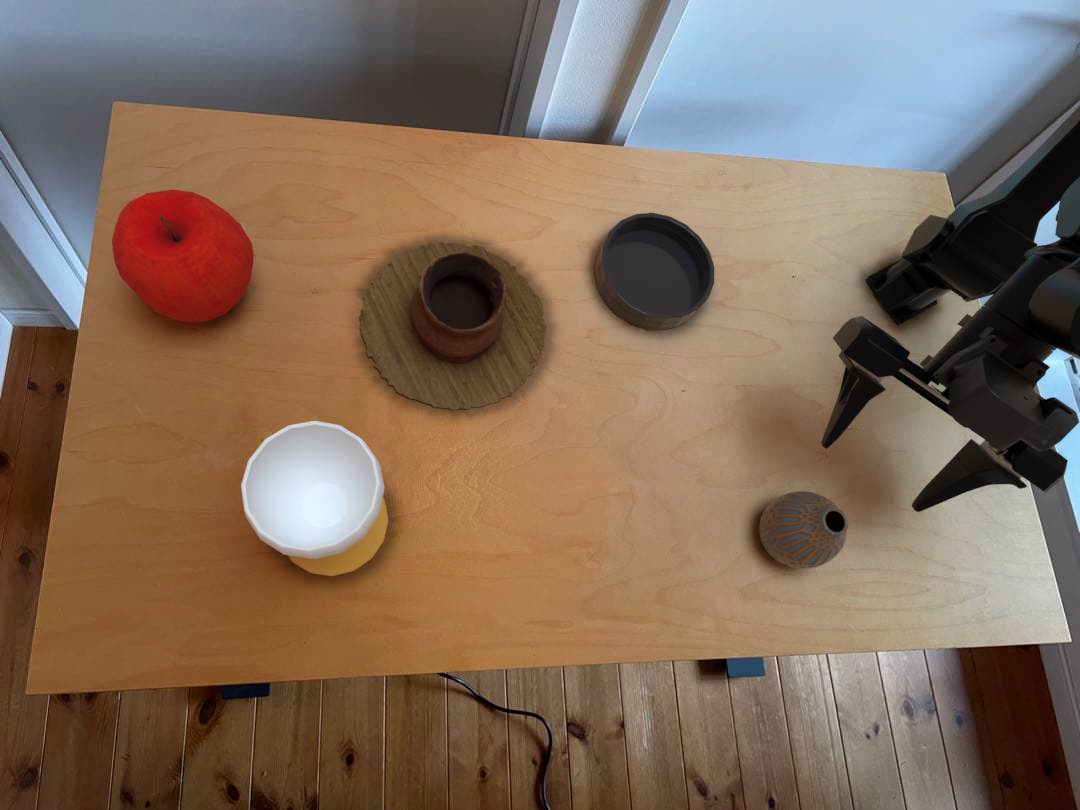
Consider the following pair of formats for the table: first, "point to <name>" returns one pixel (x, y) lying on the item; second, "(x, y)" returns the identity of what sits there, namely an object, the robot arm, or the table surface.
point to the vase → (803, 529)
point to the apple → (182, 254)
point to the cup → (317, 497)
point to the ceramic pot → (452, 325)
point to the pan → (654, 271)
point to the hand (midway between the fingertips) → (868, 477)
